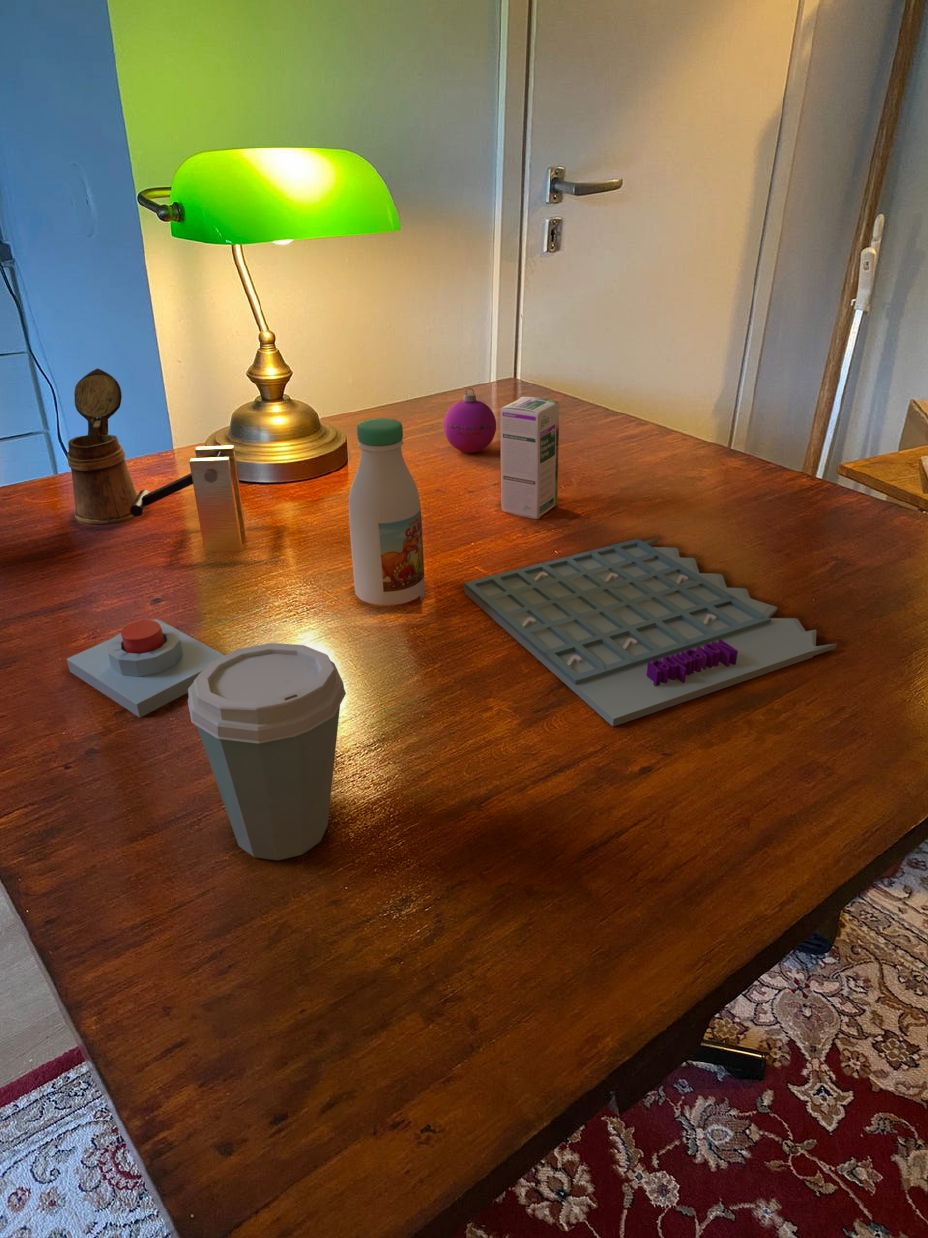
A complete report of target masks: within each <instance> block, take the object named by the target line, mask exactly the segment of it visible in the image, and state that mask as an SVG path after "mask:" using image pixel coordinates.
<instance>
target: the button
mask: <svg viewBox="0 0 928 1238" xmlns="http://www.w3.org/2000/svg"><path fill="white" fill-rule="evenodd" d="M152 620H153V619H144V620H137V621H133V622H130V623H129V624H126V625H125V626H124V627H123V628H122V629H121V632H120V633H121V635H122V639H123V643H124V648H125V650H126V651H127V652H128V653H135V654H142V653H147V652H152V651H154V650H156V649H158V648H160V647H162V646H163V644H164V638H163V633H162V628H161V625H160V624H159V623H158V622H156V621H152Z"/></svg>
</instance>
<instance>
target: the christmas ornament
mask: <svg viewBox="0 0 928 1238" xmlns="http://www.w3.org/2000/svg"><path fill="white" fill-rule="evenodd" d="M468 390H471V391H472V392H467V391H468ZM443 432H444V435H445V438H446V440H447V441H448V442H449V444H450V445H451V446H452V447H453V448H455V449H456V450H457V451H461V452H463V453H470V454H471V453H477V452H480V451H482V450H484V449H486V448H487V447H488V446H489V445H490V444H491V442H492V441H493V440H494V438H495V435H496V432H497V420H496V416H495V414H494V412H493V410H492V409H491V408H490V406H488V405H487V404H486V403H485V402H483V401H480V400H479V399H477V396H476V393H475V390H474V389H473V388H472V387H468V388H467V389H466V390H465V393H464V394H463V400H459V401H457V402H455V403H453V404H452V406H451V407H450V408H449V409H448V410H447V412H446V414H445V416H444V420H443Z"/></svg>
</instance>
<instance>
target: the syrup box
mask: <svg viewBox="0 0 928 1238" xmlns="http://www.w3.org/2000/svg"><path fill="white" fill-rule="evenodd" d="M499 409H500V412H499V413H500V495H501V496H500V501H501V502H500V503H501V504H500V505H501V511H502V512H504V513H508V514H510V515H514V516H518V517H523V518H529V519H533V520H539V519H540V518H541V517H542V516H544V515H545V514H546V513H548V512H549V511H550V510H552V509H553V508H554V507H556V506H557V505H558V491H559V490H558V489H559V487H558V486H559V447H560V445H559V444H560V443H559V442H560V441H559V439H560V438H559V437H560V432H559V431H560V401H556V400H554V399H548V398H544V397H538V396H537V397H536V396H523V395H522V396H520V397H519V398H518V399H516V400H515V401H512V402H511V403H509V404H506V405H503V406H501V407H500V408H499Z"/></svg>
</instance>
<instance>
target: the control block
mask: <svg viewBox="0 0 928 1238" xmlns="http://www.w3.org/2000/svg"><path fill="white" fill-rule="evenodd" d="M151 620H152V621H156V622H158V623H159V624H160V625H161V628H162V633H163V638H164V644H163V646H162V647H160V648H158V649H156V650H154V651H152V652H147V653H142V654H135V653H128V652H127V651H126V650H125V648H124V643H123V639H122V635H121V632H120V633H117V634H116V635H115V636H114V637H112V638H109V639H108V640H105V641H103V642H101V643H98V644H96V645H94V646H92V647H89V648H88V649H85V650H83V651H81V652H78V653H76V654H74V655H72V656H70V657H67V658H66V662H67V666H68V670H69V672H70V673H71V674H73V675H74V676H76V677H77V678H79V679H81V680H82V681H83V682H85V683H86V684H88V685H89V686H91V687H92V688H94V689H95V690H97V691H99V692H100V693H101V694H103V695H105V697H108V698H109V699H111V700H112V701H114V702H115V703H117V704H118V705H119V706H121V707H122V708H124V709H126V710H128V711H129V712H131V713H132V714H133V715H135V716H137V718H142V717H144V716H146V715H148V714H150V713H152V712H154V711H156V710H157V709H159V708H161V707H163V706H166V705H167V704H169V703H171V702H173V701H174V700H176V699H178V698H180V697H182V696H184V695H186V694H188V688H189V687H190V686H191V685H192V683H193V682H194V680H195V679H196V678H197V676H198V675H199V674H200V673H201V672H202V671H203V670H204V668H205V667H206V666H207V665H208V664H209V663H210V662H211V661H214V660H216V659H218V658H220V657H222V656H224V655H225V654H223V653H222V652H220V651H218V650H217V649H214V648H213V647H211V646H209V645H207V644H205V643H203V642H201V641H200V640H197V639H196V638H194V637H192V636H190V635H188V634H186V633H184V632H183V631H181V630H179V629H177V628H175V627H173V626H171V625H170V624H169V623H166V622H164V621H162V620H161V619H158V618H154V619H151Z"/></svg>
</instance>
